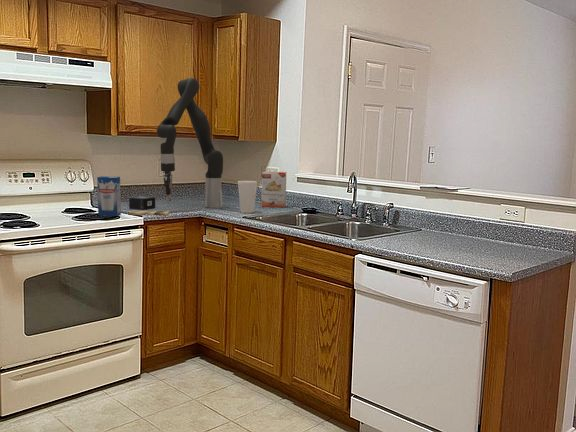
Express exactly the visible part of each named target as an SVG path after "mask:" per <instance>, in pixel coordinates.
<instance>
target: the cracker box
mask: <svg viewBox="0 0 576 432" xmlns="http://www.w3.org/2000/svg"><path fill="white" fill-rule="evenodd" d="M286 202H287V172H286V171H269V170H268V171H266V170H265V171H262V172H261V207H262V208H263V207H264V208H285V207H286V206H287V205H286Z"/></svg>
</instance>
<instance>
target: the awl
mask: <svg viewBox="0 0 576 432" xmlns="http://www.w3.org/2000/svg"><path fill="white" fill-rule="evenodd" d="M166 185H168V184H166ZM165 195H166V194H165ZM171 201H172V186H171V184H170V195H166V202H171Z"/></svg>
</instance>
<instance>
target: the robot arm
mask: <svg viewBox="0 0 576 432" xmlns="http://www.w3.org/2000/svg"><path fill="white" fill-rule="evenodd" d="M199 90H200V83H199V80H198V79H196V78H194V77H189V78H185V79H182V80H180V81H178V83H177V91H178V95H179V96H180V97H179V98H178V100H177V101H175V103H174V104H173V105H172V106H171V107H170V108H169V109H170V110H169V111H168V112H167V115H166V116H165V117H164V119H163V120H162V121H161V122H160V123H159V124H158V125H157V127H156V128H157V129H156V135H157V137H159V138H161V139H166V140H165V142H162V143H160V159H159V160H160V161H159V162H160V171H161V172H163V173H164V175H163V184H164V188H165V195H170V184H171V187H172V186H173V174H172V172H175V170H176V162H175V161H176V159H175V143H176V138H177V128H176V126H177V125H178V124H179V122H180V120H181V118H182V117H183V114H184V112H185V111H187V114H188V117H189V119H190V122H191V125H192V129H193V130H194V133H195V136H196V138H197V141H198V143H199V145H200V149H201V154H202V158H203V160H204V163H205V164H206V165H207V170H206V172H205V208H209V209H216V208H217V209H219V208H223V191H222V175H223V171H224V157H223V153H222V152H221V151H220V150H217V149H215V147H214V144H213V141H212V139H211V137H212V136H211V126H210V122H209V119H208V117H207V115H206V113H205V112H204V111H203V110H202V109H201V107H199V106H198V105H197V103H196V101H195V99H194V97H195V96H196V95H197V93H198V92H199ZM166 184H168V185H166Z"/></svg>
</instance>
